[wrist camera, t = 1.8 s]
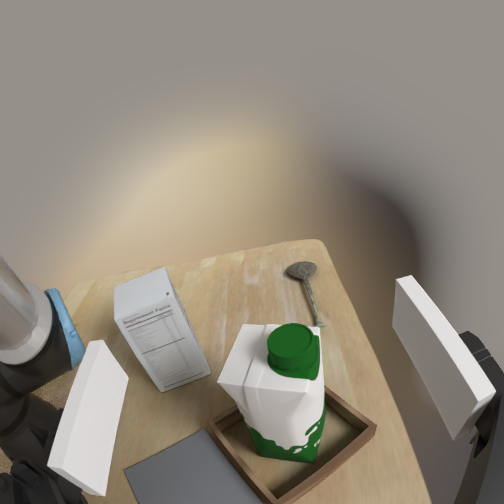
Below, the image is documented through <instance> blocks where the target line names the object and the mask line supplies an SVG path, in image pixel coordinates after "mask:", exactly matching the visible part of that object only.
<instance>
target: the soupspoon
mask: <svg viewBox="0 0 504 504" xmlns="http://www.w3.org/2000/svg"><path fill="white" fill-rule="evenodd" d="M316 269H317V266H316V265H315V264H314V263H311V262H298V263H295V264H293V265H291V266H290V267H289V268H288V269H287V273H289V274H290V275H292V276H294V277H297V278H300V279H303V280H304V283H305V285H306V288H307V291H308V294H309V297H310V300H311V302H312V306H313V309H314V312H315V315H314V316H315V321H316V326H315V327H319V328H320V329H321V328H324V327H325V326H324V324H322V322H321V319H320V317H319V314H318V310H317V306H316V302H315V299H314V296H313V293H312V290H311V287H310V284H309V281H308V278H309V277H311V276H312V275H313V274H314V272H315V271H316Z"/></svg>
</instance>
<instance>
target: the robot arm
mask: <svg viewBox="0 0 504 504" xmlns="http://www.w3.org/2000/svg"><path fill="white" fill-rule="evenodd" d="M392 326H393V328H394V330H395V332H396V334H397V335H398V337H399V339H400V340H401V342H402V344H403V346H404V347H405V349H406V351H407V353H408V354H409V356H410V358H411V360H412V362H413V363H414V365H415V367H416V369H417V371H418V372H419V374H420V376H421V378H422V380H423V382H424V384H425V385H426V387H427V389H428V391H429V393H430V395H431V397H432V399H433V401H434V403H435V405H436V407H437V409H438V411H439V413H440V415H441V417H442V419H443V421H444V423H445V425H446V427H447V429H448V431H449V433H450V435H451V437H452V439H453V440H455V439H457V438H459V437H461V436H463V435H465V434H467V433H469V432H470V431H471V429H472V428H473V426H474V425H475V426H476V428H477V429H478V431H477V432H476V434H475V435H474V436H473V438H472V439H471V441H470V444H472V443H473V442H474V444H473V448H472V452H471V455H470V459H469V462H468V465H467V469H466V472H465V475H464V478H463V480H462V484H461V486H460V489H459V492H458V494H457V497H456V500H455V502H454V504H504V373H503V371H502V370H501V368H500V367H499V365H498V364H497V363H496V361H495V360H494V359H493V357H491V354H490V353H489V351H488V350H487V349H485V346H484V345H483V343H482V342H481V341H480V339H479V338H478V337H477V336H475V335H473V334H472V333H470V332H469V331H466V332H464V333H462V334H459V335H458V334H457V333H456V331H455V330H454V329H453V327H452V326H451V325H450V323H449V322H448V321H447V319H446V318H445V317H444V315H443V314H442V313H441V312H440V310H439V309H438V308H437V306H436V305H435V304H434V303H433V301H432V300H431V299H430V298H429V296H428V295H427V294H426V293H425V291H424V290H423V289H422V288H421V286H420V285H419V284H418V283H417V282H416V280H415V279H414V278H413V277H412V276H411V275H410V276H407V277H403V278H400V279H397V280H396V289H395V302H394V313H393V323H392ZM80 363H81V364H80ZM79 364H80V367H79V370H78V372H77V375H76V377H75V380H74V383H73V385H72V388H71V391H70V394H69V397H68V399H67V402H66V405H65V408H64V409H59V411H58V410H57V409H56V408H55V407H54V406H53V405H52V404H50V403H49V402H46V401H44V400H42V399H41V398H39V397H37V396H35V395H34V394H32V393H31V392H33V391H34V390H36V389H38V388H40V387H41V386H43V385H45V384H47V383H48V382H50V381H52V380H54V379H55V378H57V377H59V376H61V375H62V374H64V373H66V372H67V371H71V370H73V369H74V368H75V367H76V366H77V365H79ZM128 379H129V378H128V376H127V375H126V373H125V372H124V371H123V369H122V368H121V366H120V365H119V363H118V362H117V361H116V359H115V358H114V356H113V355H112V353H111V352H110V350H109V349H108V347H107V346H106V344H105V342H104V341H103V340H97V341H90V342H89V345H88V347H87V349H85V347H84V345H83V343H82V340H81V338H80V336H79V334H78V332H77V330H76V328H75V326H74V324H73V322H72V320H71V317H70V315H69V313H68V311H67V309H66V307H65V304H64V302H63V300H62V297H61V295H60V293H59V291H58V290H57V289H56V288H52V289H47V290H45V291H44V292H43V291H42V290H41V289H40V288H39V287H38V286H36V285H34V284H32V283H29V282H21V280H20V279H19V278H18V277H17V275H16V274H15V273H14V271H13V270H12V269H11V268H10V266H9V265H8V263H7V262H6V261H5V259H4V258H3V256H2V255H1V254H0V447H1V449H2V450H3V451H4V453H5V454H6V456H7V457H8V458H9V459H10V461H11V462H13V465H12V466H11V471H10V474H11V476H10V475H9V474H7V473H1V474H0V504H88V502H87V501H86V499H85V498H84V496H83V495H82V494H81V491H82V490H84V491H86V492H87V493H89V494H91V495H98V496H104V497H105V495H106V488H107V482H108V475H109V469H110V464H111V458H112V453H113V447H114V442H115V437H116V432H117V427H118V422H119V418H120V413H121V409H122V404H123V400H124V395H125V391H126V387H127V383H128ZM474 440H475V441H474Z"/></svg>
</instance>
